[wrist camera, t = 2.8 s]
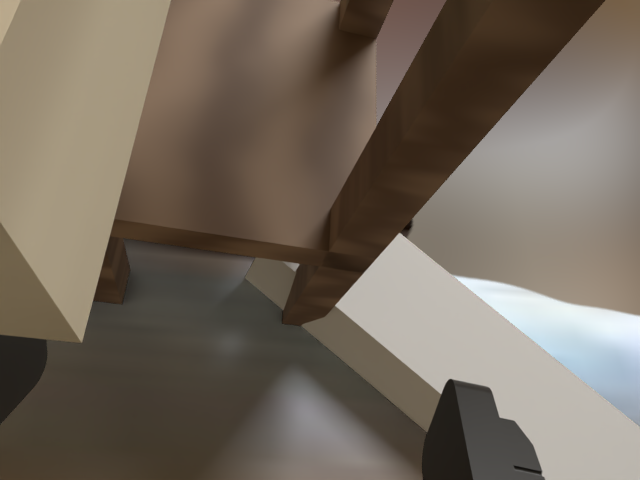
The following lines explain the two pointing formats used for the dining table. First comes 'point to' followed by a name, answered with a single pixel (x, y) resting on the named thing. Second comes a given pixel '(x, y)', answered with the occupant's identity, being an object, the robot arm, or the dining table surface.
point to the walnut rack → (315, 130)
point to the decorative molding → (463, 360)
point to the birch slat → (66, 149)
